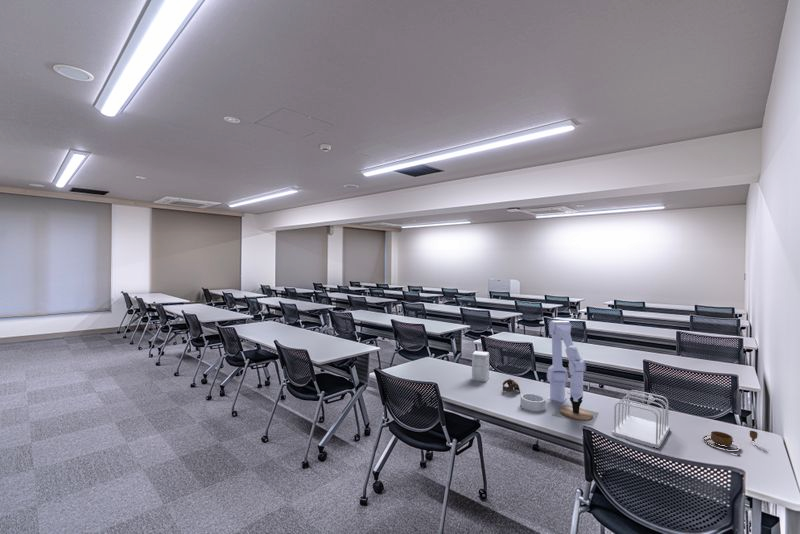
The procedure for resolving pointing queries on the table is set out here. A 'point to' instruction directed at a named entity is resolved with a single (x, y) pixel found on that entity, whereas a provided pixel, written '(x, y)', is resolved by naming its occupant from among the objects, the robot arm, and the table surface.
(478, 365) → the supplement box
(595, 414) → the grey square pad
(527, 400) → the grey bowl
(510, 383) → the brown dome
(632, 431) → the file sorter
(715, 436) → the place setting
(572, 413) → the walnut lid
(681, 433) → the table surface
